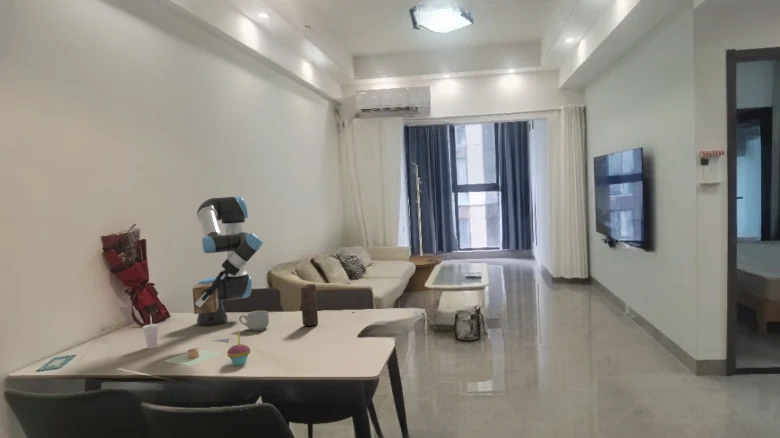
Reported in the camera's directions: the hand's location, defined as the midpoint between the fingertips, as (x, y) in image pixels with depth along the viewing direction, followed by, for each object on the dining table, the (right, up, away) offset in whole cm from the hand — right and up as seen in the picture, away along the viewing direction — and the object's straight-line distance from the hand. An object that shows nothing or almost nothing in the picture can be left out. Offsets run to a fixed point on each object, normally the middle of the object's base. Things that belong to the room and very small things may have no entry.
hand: (198, 303), depth 225 cm
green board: (+4, -20, -17) cm, 26 cm away
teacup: (+18, -17, +25) cm, 35 cm away
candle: (+44, -15, +26) cm, 54 cm away
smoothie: (-22, -20, +4) cm, 30 cm away
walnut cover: (+3, -3, +1) cm, 5 cm away
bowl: (+4, -19, -17) cm, 26 cm away
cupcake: (+25, -19, -26) cm, 41 cm away
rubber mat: (+4, -19, +2) cm, 19 cm away
